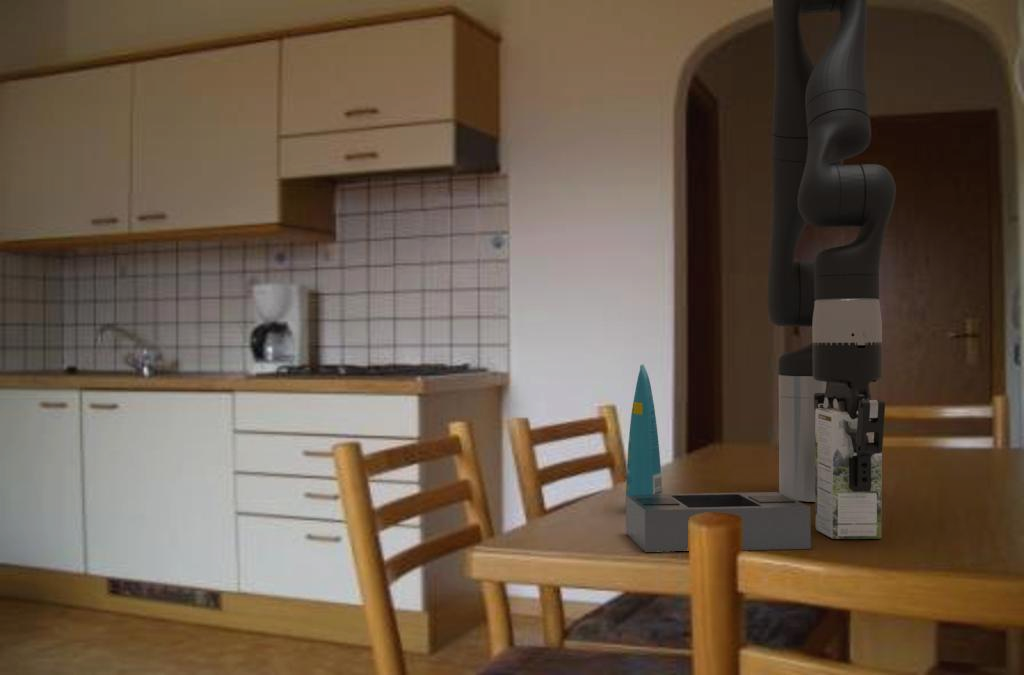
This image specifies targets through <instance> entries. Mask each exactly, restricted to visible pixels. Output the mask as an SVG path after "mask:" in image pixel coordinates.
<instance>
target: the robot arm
mask: <svg viewBox="0 0 1024 675" xmlns="http://www.w3.org/2000/svg"><path fill="white" fill-rule="evenodd" d="M829 13H839V23H838V26H837V28H836V31H835V34H834V36H833V37H832V39H831V41H830V43H829V44H828V46H827V47H826V49H825V50H824V52H823V54H821V56H820V58H819V60H818V61H817V63H816V65H815V63H814V61H813V58H812V57H811V56H810V53H809V50H808V49H807V47H806V46H807V45H806V44H805V41H804V39H803V38H804V37H803V33H802V29H801V23H800V16H801V15H805V16H806V15H817V14H829ZM772 15H773V16H772V17H773V40H774V41H773V42H774V44H773V45H774V46H773V47H774V92H773V112H772V116H773V117H772V128H771V129H772V130H771V131H772V132H771V133H772V135H771V136H772V138H771V179H772V189H771V190H772V219H771V234H770V236H771V237H770V247H769V248H770V249H769V250H770V252H769V261H768V262H769V263H768V276H767V291H766V292H767V293H766V296H767V297H766V300H767V301H766V303H767V311H768V316H769V319H770V321H771V322H772V324H773V325H774V326H777V327H788V328H789V327H792V328H793V327H794V328H795V327H798V328H799V327H802V328H803V327H805V328H806V327H807V328H808V327H812V342H811V343H809V344H807V345H805V346H803V347H801V348H797V349H795V350H792V351H787V352H786V353H783V354H781V356H780V357H779V360H778V458H779V459H778V462H779V463H778V464H779V465H778V480H779V481H778V487H779V488H778V490H779V491H778V492H779V493H781V494H783V495H785V496H787V497H790V498H792V499H794V500H796V501H799V502H807V503H808V502H809V503H810V502H811V503H815V410H816V408H834V410H836V411H839V412H847V413H848V414H849V416H850V418H851V419H853V420H854V419H855V418H858V423H857V429H852V428H850V427H849V425H848V421H845V420H843V435H844V436H845V437H846V438H847V439H848V450H849V454H850V457H852V458H849V488H850V489H851V490H852V491H855V492H868V491H870V489H871V457H874V455H875V454H879V453H882V454H883V447H884V446H883V443H884V430H885V428H884V427H885V413H886V410H885V409H886V403H885V400H884V399H876V398H875V399H874V398H872V395H871V391H870V383H873V382H874V383H875V382H879V381H881V379H882V378H883V323H882V322H883V321H882V313H881V305H880V300H879V299H880V260H881V255H882V250H883V244H884V240H885V236H886V231H887V228H888V224H889V222H890V219H891V216H892V212H893V208H894V205H895V201H896V195H897V187H896V183H895V180H894V177H893V174H892V173H891V171H889V169H888V168H886V167H885V166H883V165H881V164H877V163H875V164H874V163H873V164H872V163H871V164H870V163H865V164H863V163H862V164H844V160H847V159H851V158H853V157H856V156H858V155H860V154H861V153H863V152H864V151H866V149H867V148H868V147H869V145H870V143H871V139H872V126H871V117H870V110H869V109H870V108H869V101H868V92H867V79H866V58H867V57H866V55H867V54H866V52H867V50H866V49H867V31H868V28H867V27H868V26H867V25H868V0H772ZM807 225H810V226H811V227H815V228H837V227H841V228H845V227H846V228H847V227H853V228H854V227H858V228H859V229H858V233H857V236H856V238H855V239H854V241H852V242H850V243H848V244H845V245H840V246H839V245H838V246H835V247H830V248H827V249H826V248H825V249H824V250H821V251H819V252H818V253H817V254H816V256H815V259H814V260H804V261H803V260H800V261H799V260H798V261H797V260H794V257H795V253H796V249H797V246H798V243H799V240H800V238H801V235H802V234H803V232H804V229H806V227H807ZM873 434H874V442H873V440H872V435H873ZM855 437H857V440H855Z"/></svg>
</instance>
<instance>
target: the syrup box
mask: <svg viewBox="0 0 1024 675" xmlns="http://www.w3.org/2000/svg"><path fill="white" fill-rule="evenodd" d="M843 420H845V421H848V425H849V427H850V428H852V429H857V423H858V418H855V419H854V420H853V419H851V418H850V416H849V414H848V413H847V412H839V411H836V410H834V408H816V410H815V502H814V507H815V508H814V529H815V530H816V531H817V532H819V533H821V534H822V535H825V536H827V537H828V538H831V539H833V540H840V539H841V540H863V539H864V540H867V539H868V540H869V539H871V540H872V539H877V540H878V539H881V538H882V490H883V489H882V486H883V485H882V477H883V476H882V472H883V471H882V470H883V468H882V466H883V465H882V463H883V462H882V461H883V457H882V456H883V452H882V453H879V454H875V455H874V457H871V489H870V491H868V492H855V491H852V490H851V489H850V488H849V458H852V457H850V454H849V450H848V439H847V438H846V437H845V436H844V435H843ZM855 440H857V437H855ZM872 440H873V442H874V434H873V435H872Z"/></svg>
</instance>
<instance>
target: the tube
mask: <svg viewBox="0 0 1024 675" xmlns="http://www.w3.org/2000/svg"><path fill="white" fill-rule="evenodd" d="M649 377H650V376H649V374H648V371H647V369H646V367H645V365H644V364H643V363H642V364H640V366H639V372H638V376H637V379H636V380H637V381H636V385H635V390H634V391H635V392H634V397H633V402H632V407H631V415H630V424H629V425H630V426H629V434H628V435H629V436H628V447H627V458H626V459H627V460H626V461H627V462H626V463H627V464H626V484H625V485H626V486H625V487H626V488H625V496H626V495H651V494H663V484H662V483H663V482H662V480H663V479H662V467H661V456H660V455H661V454H660V444H659V435H658V434H659V433H658V426H657V425H658V424H657V417H656V409H655V403H654V397H653V390H652V386H651V385H652V384H651V381H650V378H649Z"/></svg>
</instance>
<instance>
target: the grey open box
mask: <svg viewBox="0 0 1024 675" xmlns="http://www.w3.org/2000/svg"><path fill="white" fill-rule="evenodd" d="M704 512H717V513H729V514H735V515H739V516H740V517H741V518H742V524H743V529H742V547H743V550H742V551H772V550H777V551H778V550H780V551H781V550H811V549H812V548H811V546H812V544H811V543H812V542H811V540H812V536H811V535H812V534H811V533H812V531H811V529H812V528H811V525H812V523H811V518H812V517H811V512H812V511H811V506H810V505H807V504H805V503H803V502H802V501H797V500H794V499H792V498H790V497H787V496H785V495H783V494H781V493H779V491H766V492H765V491H764V492H763V491H760V492H759V491H758V492H756V491H755V492H754V491H753V492H714V493H713V492H709V493H708V492H705V493H704V492H703V493H702V492H701V493H665V494H664V493H662V494H651V495H626V494H625V523H626V524H625V534H626V535H627V536H628V537H629V538H630V539H631V540H632V542H633V543H635V545H637V546H638V548H640V550H642V551H643V550H644V551H645V552H657V551H684V550H686V551H687V548H688V520H689V518H690V517H691V516H693V515H695V514H699V513H704ZM644 551H643V552H644ZM645 552H644V553H645Z"/></svg>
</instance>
